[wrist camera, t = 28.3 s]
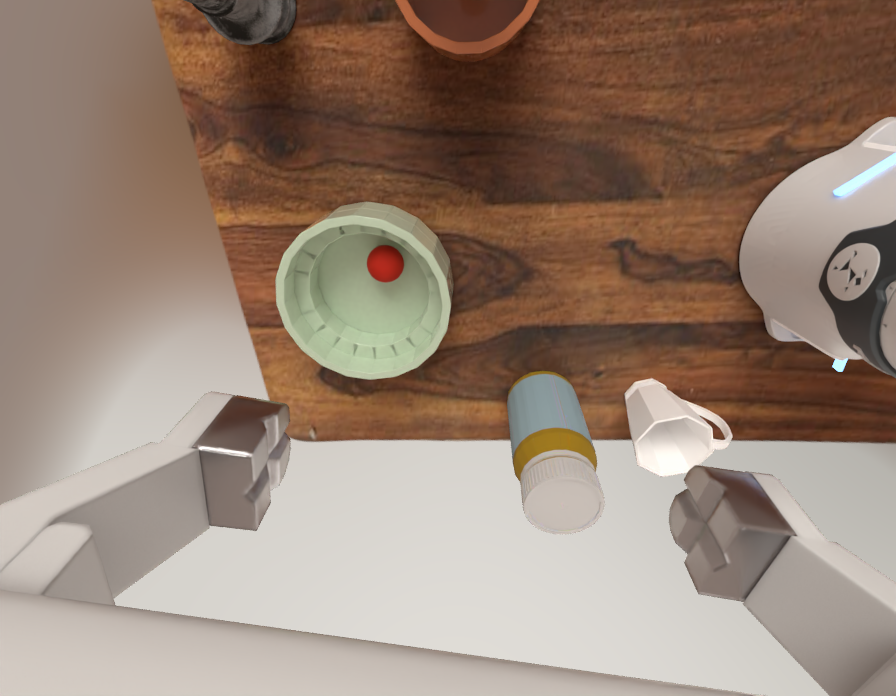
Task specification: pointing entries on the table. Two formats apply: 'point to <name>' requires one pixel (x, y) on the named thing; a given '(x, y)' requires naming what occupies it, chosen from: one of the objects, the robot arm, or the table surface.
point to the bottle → (553, 454)
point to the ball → (385, 263)
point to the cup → (670, 429)
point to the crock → (468, 24)
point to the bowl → (365, 292)
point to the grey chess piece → (249, 19)
